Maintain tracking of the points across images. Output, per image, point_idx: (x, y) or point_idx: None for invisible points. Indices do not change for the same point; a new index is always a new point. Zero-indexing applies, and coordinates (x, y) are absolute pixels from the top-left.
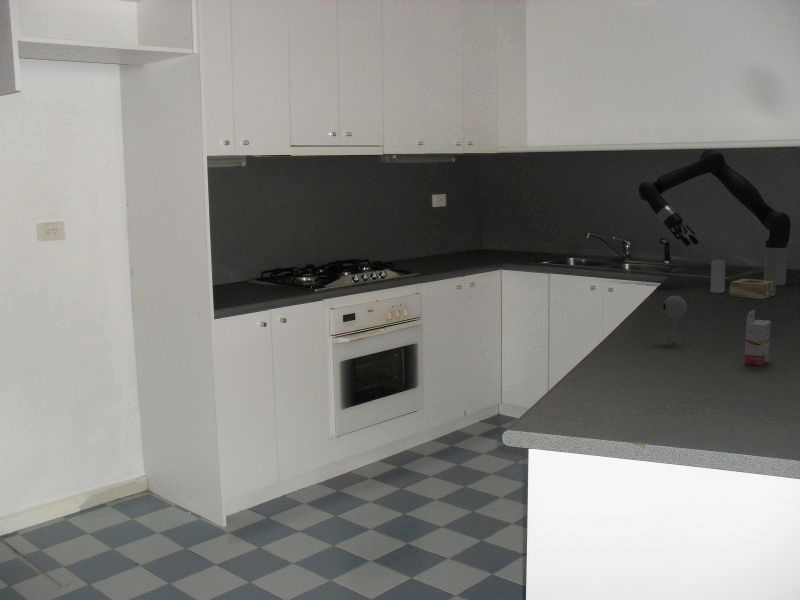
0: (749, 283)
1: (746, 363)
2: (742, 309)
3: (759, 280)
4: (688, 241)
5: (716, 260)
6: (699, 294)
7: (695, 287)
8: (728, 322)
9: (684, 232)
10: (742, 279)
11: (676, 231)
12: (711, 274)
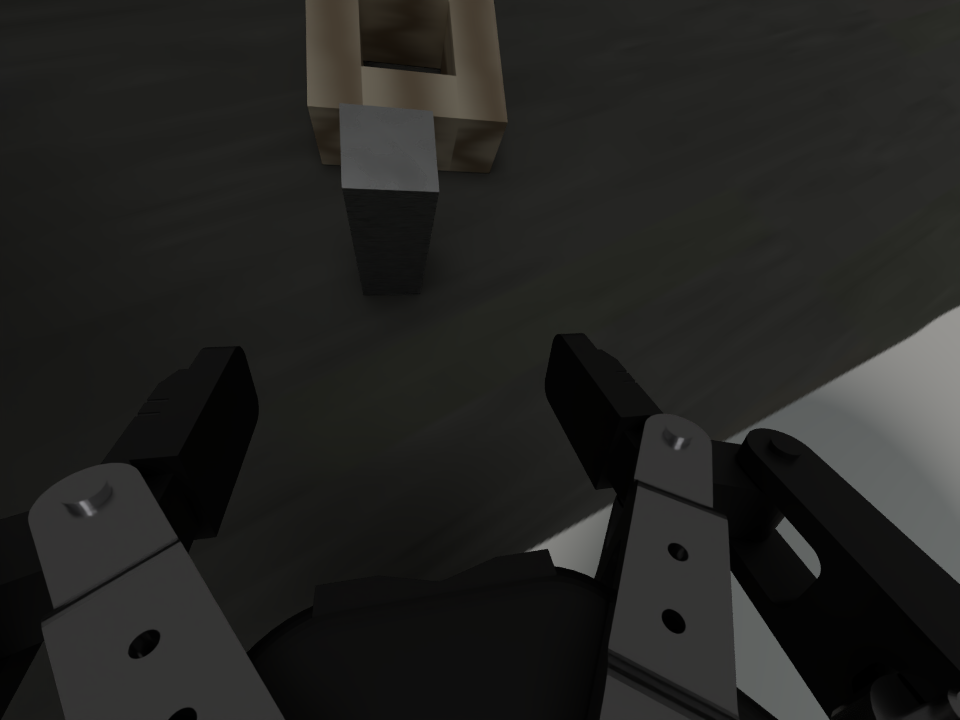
0: (491, 31)
1: None
2: (736, 48)
3: (332, 13)
4: (597, 352)
5: (412, 158)
6: (525, 305)
7: (271, 456)
8: (920, 31)
9: (642, 486)
10: (346, 98)
11: (932, 596)
12: (427, 247)
